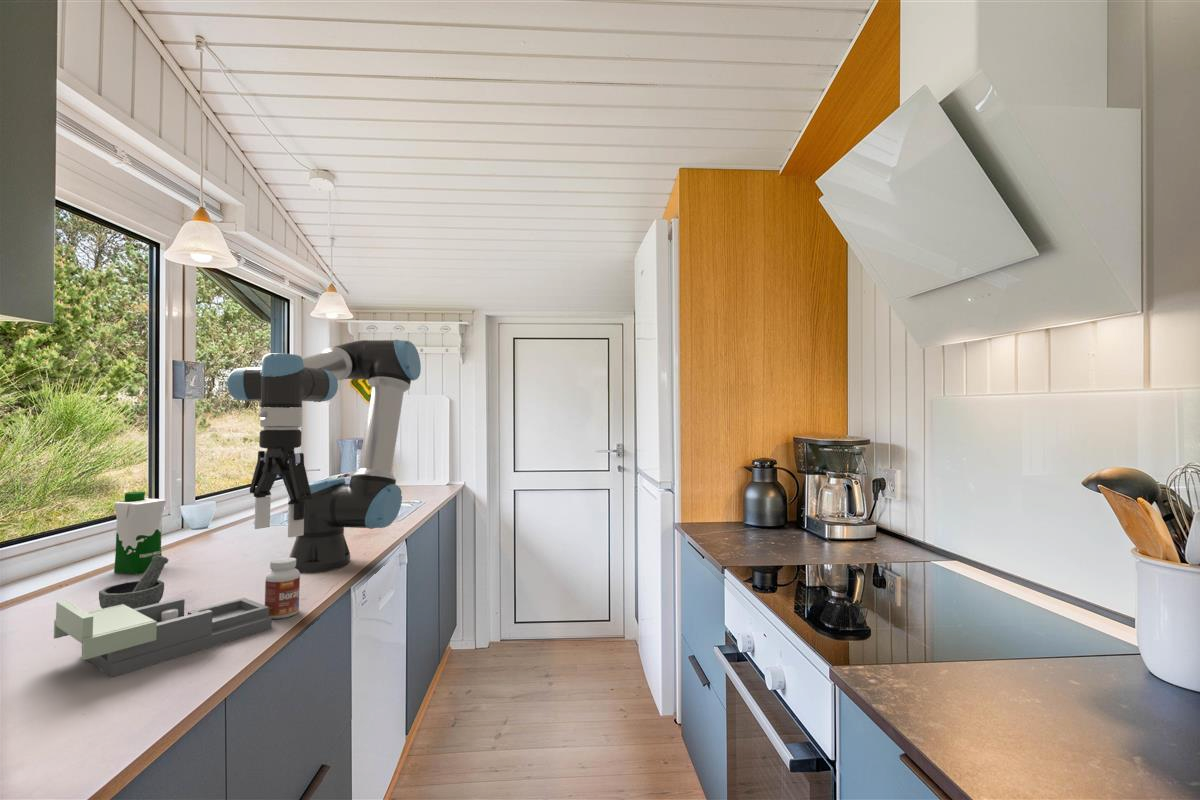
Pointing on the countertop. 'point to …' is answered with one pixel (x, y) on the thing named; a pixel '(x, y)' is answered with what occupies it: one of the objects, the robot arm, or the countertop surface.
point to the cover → (103, 628)
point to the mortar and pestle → (137, 588)
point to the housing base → (186, 632)
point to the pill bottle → (282, 588)
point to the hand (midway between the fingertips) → (278, 532)
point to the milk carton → (137, 532)
